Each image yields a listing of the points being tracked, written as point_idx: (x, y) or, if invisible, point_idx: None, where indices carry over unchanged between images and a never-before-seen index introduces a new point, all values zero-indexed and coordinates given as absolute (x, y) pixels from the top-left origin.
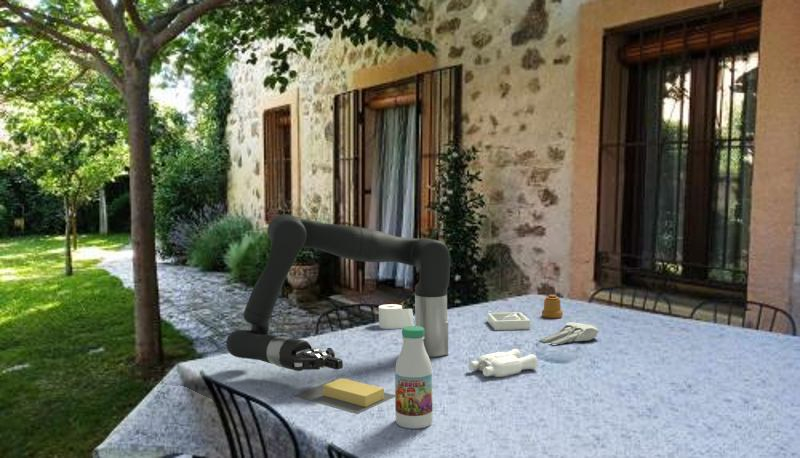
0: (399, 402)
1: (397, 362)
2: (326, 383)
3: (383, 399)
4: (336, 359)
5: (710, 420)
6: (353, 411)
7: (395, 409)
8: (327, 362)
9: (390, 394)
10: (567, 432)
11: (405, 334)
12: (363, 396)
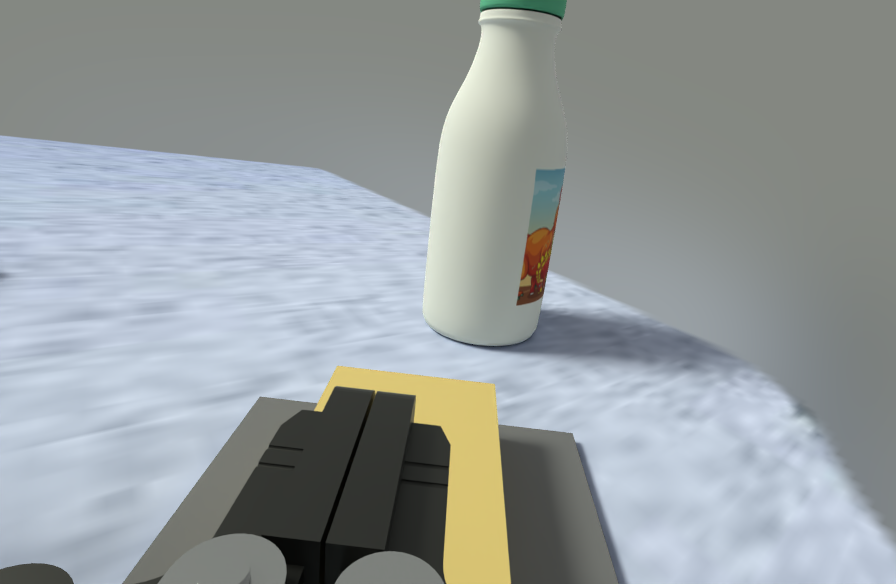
0: (549, 259)
1: (559, 125)
2: None
3: None
4: (380, 414)
5: (247, 173)
6: (565, 455)
7: (523, 305)
8: (441, 546)
9: (250, 419)
10: (362, 217)
11: (565, 6)
12: (494, 395)
